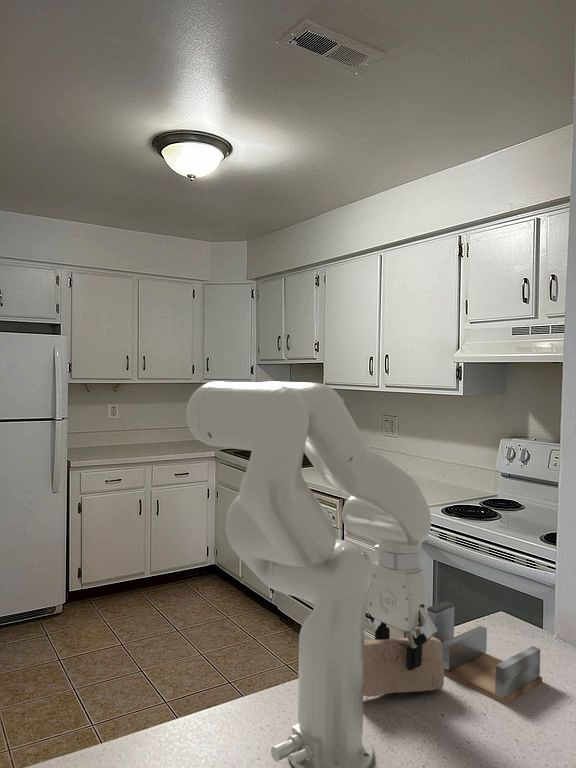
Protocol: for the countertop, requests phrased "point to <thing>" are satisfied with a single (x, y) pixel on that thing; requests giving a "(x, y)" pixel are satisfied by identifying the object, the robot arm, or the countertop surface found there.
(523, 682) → the vise base
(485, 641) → the free jaw
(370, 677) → the brick
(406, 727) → the countertop surface
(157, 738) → the countertop surface
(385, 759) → the countertop surface
